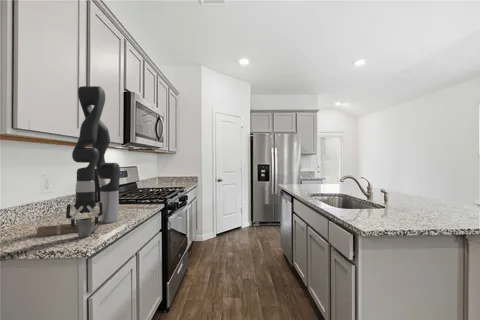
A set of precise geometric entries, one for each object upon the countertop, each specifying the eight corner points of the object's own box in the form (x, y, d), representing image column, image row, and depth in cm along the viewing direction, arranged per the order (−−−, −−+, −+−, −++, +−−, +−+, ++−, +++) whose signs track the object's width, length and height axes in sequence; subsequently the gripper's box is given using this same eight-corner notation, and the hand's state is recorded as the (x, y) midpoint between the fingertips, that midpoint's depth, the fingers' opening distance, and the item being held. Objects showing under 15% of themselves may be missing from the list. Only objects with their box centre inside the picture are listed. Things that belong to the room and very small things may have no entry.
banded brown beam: (38, 234, 116) (38, 226, 116) (88, 228, 127) (88, 221, 127) (36, 236, 113) (36, 228, 113) (88, 230, 123) (88, 223, 123)
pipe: (100, 231, 123) (100, 214, 123) (85, 239, 110) (85, 221, 110) (88, 231, 122) (88, 214, 122) (71, 239, 110) (71, 221, 110)
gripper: (102, 189, 122) (102, 222, 122) (67, 190, 115) (66, 226, 115) (103, 190, 116) (102, 225, 115) (65, 192, 108) (65, 229, 108)
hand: (84, 226), depth 115 cm, fingers open, 8 cm apart
